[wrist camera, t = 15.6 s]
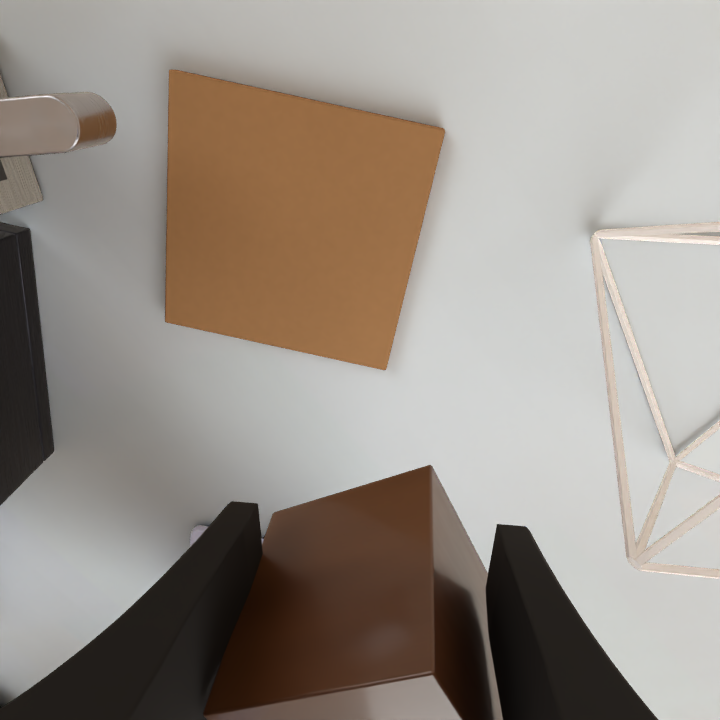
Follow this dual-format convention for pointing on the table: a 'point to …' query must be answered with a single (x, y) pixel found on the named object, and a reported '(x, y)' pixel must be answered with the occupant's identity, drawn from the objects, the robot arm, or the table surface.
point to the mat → (292, 217)
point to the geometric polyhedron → (637, 550)
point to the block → (363, 614)
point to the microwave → (21, 365)
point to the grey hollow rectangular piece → (45, 136)
